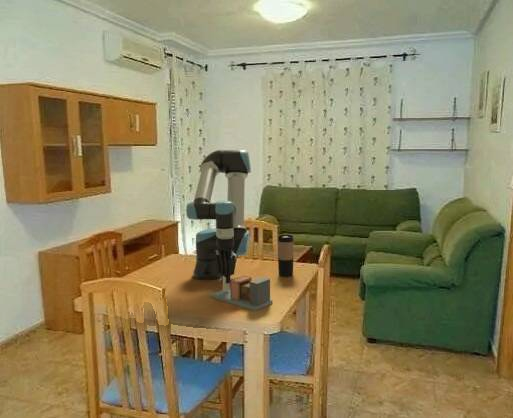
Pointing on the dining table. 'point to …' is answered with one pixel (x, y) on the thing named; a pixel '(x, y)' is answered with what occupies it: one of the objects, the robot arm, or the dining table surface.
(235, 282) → the block
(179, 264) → the dining table surface
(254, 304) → the board
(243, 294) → the brown block
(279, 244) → the travel mug
